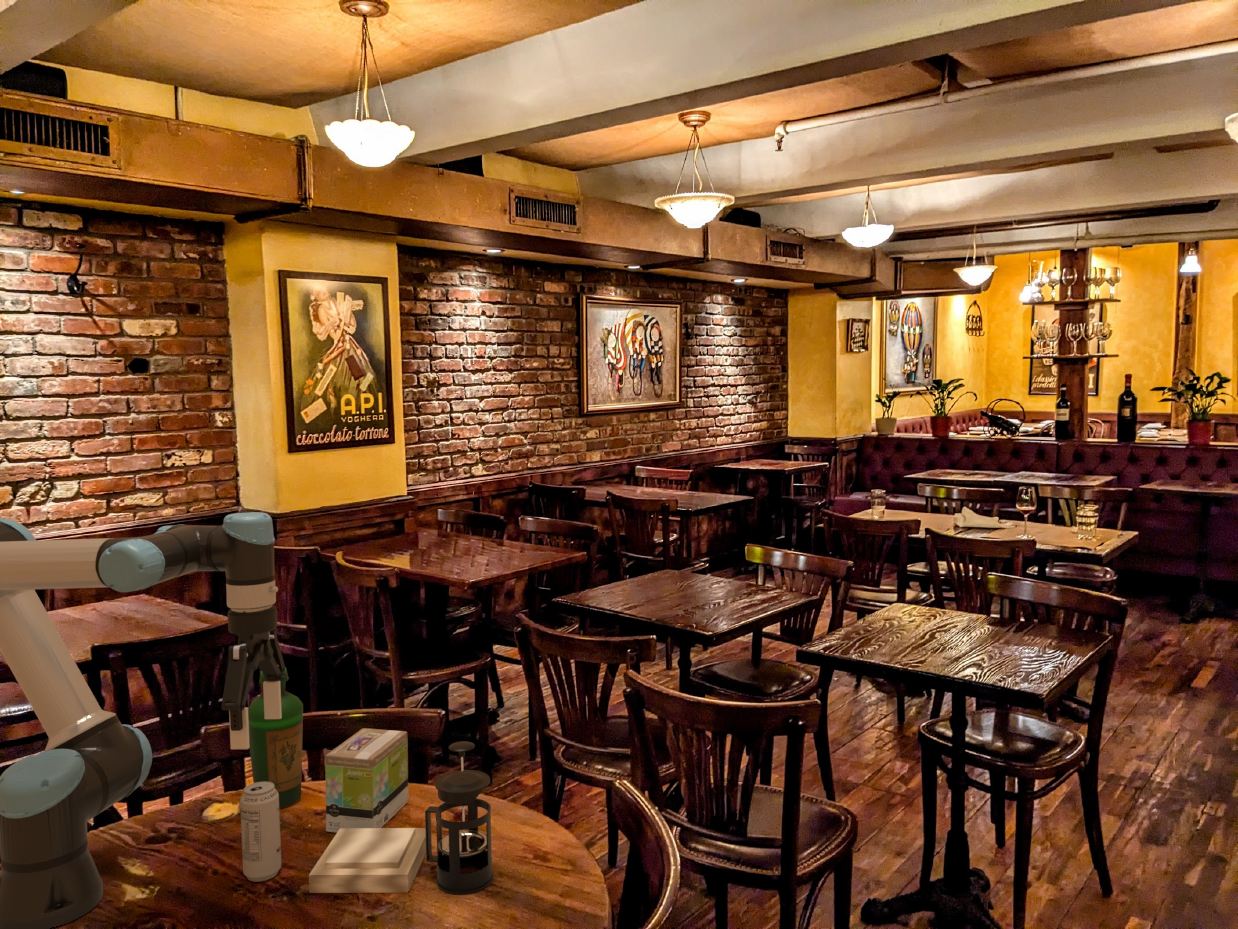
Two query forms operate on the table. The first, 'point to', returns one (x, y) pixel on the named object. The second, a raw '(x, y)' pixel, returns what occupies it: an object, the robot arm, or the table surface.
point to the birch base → (369, 861)
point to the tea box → (366, 779)
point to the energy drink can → (260, 831)
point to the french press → (461, 845)
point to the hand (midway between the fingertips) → (257, 733)
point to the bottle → (277, 745)
